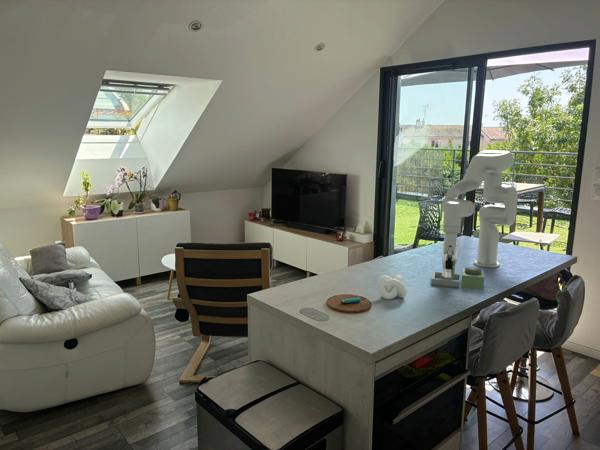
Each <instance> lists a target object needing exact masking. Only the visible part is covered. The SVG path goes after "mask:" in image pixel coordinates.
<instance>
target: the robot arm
mask: <svg viewBox="0 0 600 450" xmlns="http://www.w3.org/2000/svg"><path fill="white" fill-rule="evenodd" d="M514 159H515V157H514V155H513V153H512V152H511V151H507V150H481V151H479V152H477V154H475V155H474V156H472V158H471V160H470V163H469V165H468V166H467V169H466V171H465V173H464V176H463V178H462V179H461V180H459V181H458V182H456V183H455V184H454V185H452V186H451V187H450V188H449V189H448V190H447V192H446V193H445V196H444V199H443V201H442V204H441V210H442V212H443V224H442V232H443V233H444V238H443V241H444V242H443V244H444V252H443V253H444V254H446V253H447V257H446V263H445V269H451V270H452V269H453V255H454V254H455V249H456V244H457V243H458V241H457V239H458V234H460V233H461V226H462V225H461V224H462V217H463V218H465V217H467V218H468V217H470V216H472V215H473V214H474V213H475V208H476V207H475V204H474V203H473V201H471V200H467V199H460V198H457V197H459V196H460V195H462V194H465V193H467V192H470V191H471V192H472V191H474V190H477V189H479V188H480V187H481V186H482V183H483V194H482V196H483V197H482V198H483V200H484V201H485V202H487V203H492V204H484V205H482V206H481V207H480V208H479V210H478V218H479V219H478V220H479V233H478V246H477V256H476V257H477V259H475V260H474V261H473V264H474V265H475V266H478V267H481V268H490V269H491V268H493V269H494V268H498V267H500V264H501V263H500V262H499V261H498V249H499V239H500V237H499V236H500V231H499V229H498V227H497V226H507V227H510V226H512V225H514V224H515V220H516V217H517V203H518V191H517V188H516V187H515V186H514V185H510V184H509V185H507V184H503V172H505V171H507V170H509V169H510V168H511V167H513V164H514ZM494 204H495V205H494ZM496 204H500V205H496ZM502 205H504V206H502ZM448 251H449V253H448ZM451 252H452V254H451Z"/></svg>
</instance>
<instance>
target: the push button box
mask: <svg viewBox="0 0 600 450" xmlns="http://www.w3.org/2000/svg"><path fill="white" fill-rule="evenodd" d="M484 273H485V272H484V269H482V268H480V267H475V266H467V267H462V270H461V274H460V273H456V272H455V278H444V277H442V276H441V275H442V271H434V270H433V271H432V277H431V286H436V287H437V286H439V287H446V288H455V287H456V288H457V289H460V283H461V289H464V290H465V289H467V290H468V289H469V290H476V291H477V290H478V291H484V285H485V275H484ZM460 275H461V277H460ZM460 278H461V281H460Z"/></svg>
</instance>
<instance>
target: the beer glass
mask: <svg viewBox="0 0 600 450" xmlns="http://www.w3.org/2000/svg"><path fill="white" fill-rule="evenodd" d="M458 248H459V245H458V244H457V243H456V249H455V254H454V255H453V269H452V270H451V269H445V263H446V257H447V253H446V254H444V253H443V252H444V243H442V249H441V262H442V271H441V272H442V275H441V276H442V277H444V278H455V273H456V271H455V270H456V265H457V261H458V256H459V255H458V254H459V249H458ZM448 253H449V251H448ZM451 254H452V252H451Z"/></svg>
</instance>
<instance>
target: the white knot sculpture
mask: <svg viewBox="0 0 600 450" xmlns="http://www.w3.org/2000/svg"><path fill="white" fill-rule="evenodd" d="M377 290H378V292H379V294H380V296H381V297H382V298H384V300H393V299H394V298H396V296H397V297H398V298H400V299H401V298H402V299H403V298H405V297H406V296H407V293H408V292H407V288H406V286H405V284H404V283H403V277H402V275H400V274H397V275H394V277H393V278H392V277H391V276H389V275H386V274H384V275H381V276H380V277H379V279H378V281H377Z"/></svg>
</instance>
